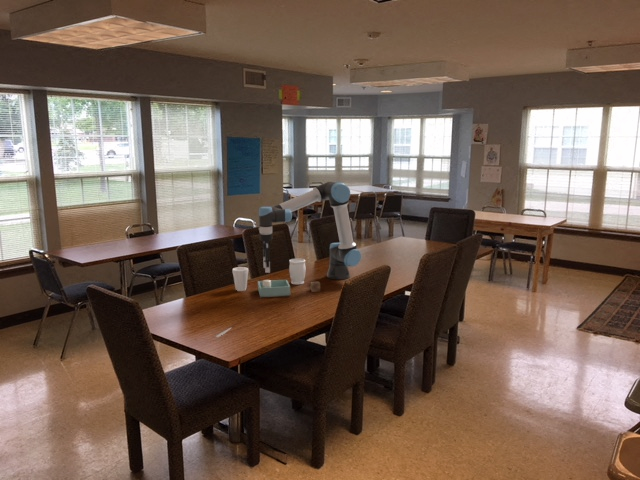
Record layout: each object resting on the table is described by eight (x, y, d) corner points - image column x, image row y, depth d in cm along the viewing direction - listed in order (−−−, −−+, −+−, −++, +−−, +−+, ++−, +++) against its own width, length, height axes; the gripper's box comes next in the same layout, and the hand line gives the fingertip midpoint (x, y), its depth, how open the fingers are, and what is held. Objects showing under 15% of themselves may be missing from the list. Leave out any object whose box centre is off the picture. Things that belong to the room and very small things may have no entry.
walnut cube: (318, 289, 310) (318, 281, 309) (320, 291, 305) (320, 283, 304) (310, 289, 309) (310, 281, 308) (312, 292, 304) (312, 284, 303)
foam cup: (252, 289, 310) (251, 268, 308) (241, 292, 303) (241, 271, 300) (240, 286, 316) (239, 266, 313) (229, 290, 308) (229, 269, 306)
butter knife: (212, 336, 234) (218, 336, 233) (242, 318, 259) (247, 318, 258) (213, 337, 234) (218, 337, 233) (242, 319, 259) (247, 319, 258)
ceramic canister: (270, 290, 305) (270, 279, 303) (271, 293, 300) (271, 281, 298) (262, 291, 304) (262, 279, 302) (263, 293, 299) (262, 282, 298)
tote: (287, 288, 312) (286, 279, 311) (290, 295, 297) (290, 286, 296) (258, 289, 309) (257, 281, 308) (260, 297, 293) (259, 288, 292)
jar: (303, 285, 318) (303, 262, 315) (287, 284, 320) (287, 261, 317) (307, 281, 328) (307, 258, 325) (291, 280, 330) (291, 257, 327)
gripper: (257, 230, 306) (258, 265, 310) (261, 237, 283) (261, 275, 287) (270, 229, 307) (271, 265, 311) (274, 236, 284) (275, 274, 289)
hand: (266, 270), depth 299 cm, fingers open, 11 cm apart
